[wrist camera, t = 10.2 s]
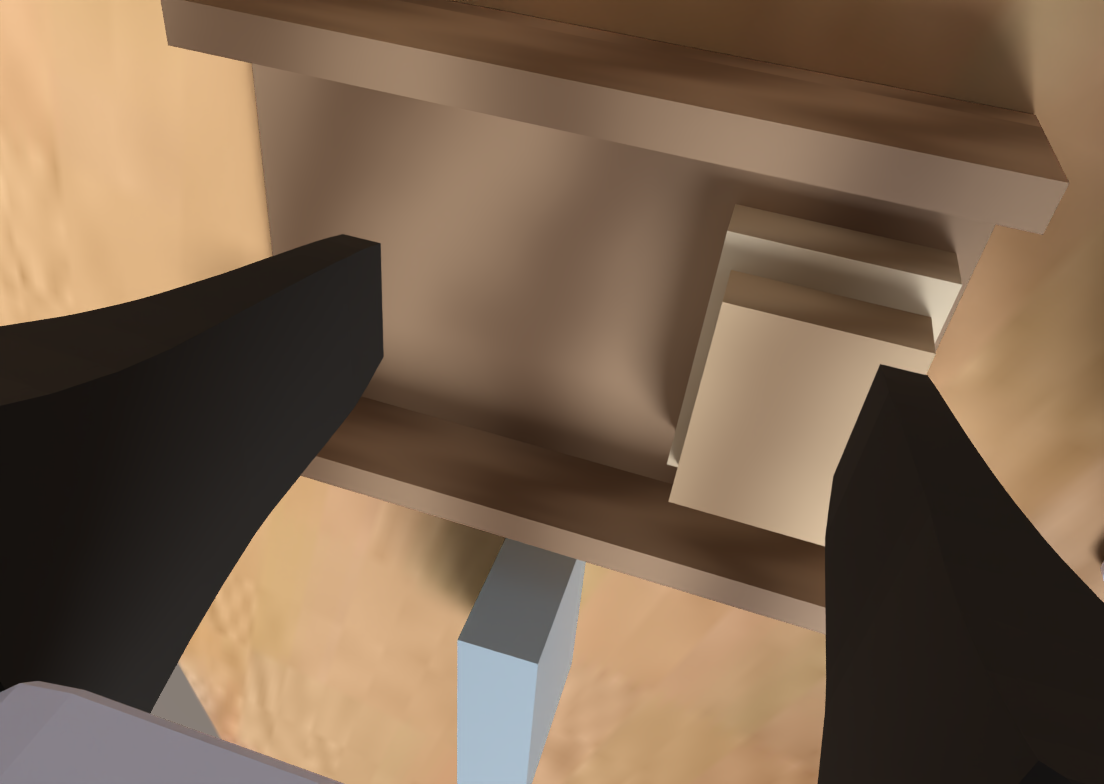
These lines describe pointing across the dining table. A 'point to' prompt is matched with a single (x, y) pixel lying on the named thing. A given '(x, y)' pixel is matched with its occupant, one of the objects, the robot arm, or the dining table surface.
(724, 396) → the offcut top
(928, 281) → the offcut low
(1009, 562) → the robot arm
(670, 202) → the rack
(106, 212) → the dining table surface
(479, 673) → the block
